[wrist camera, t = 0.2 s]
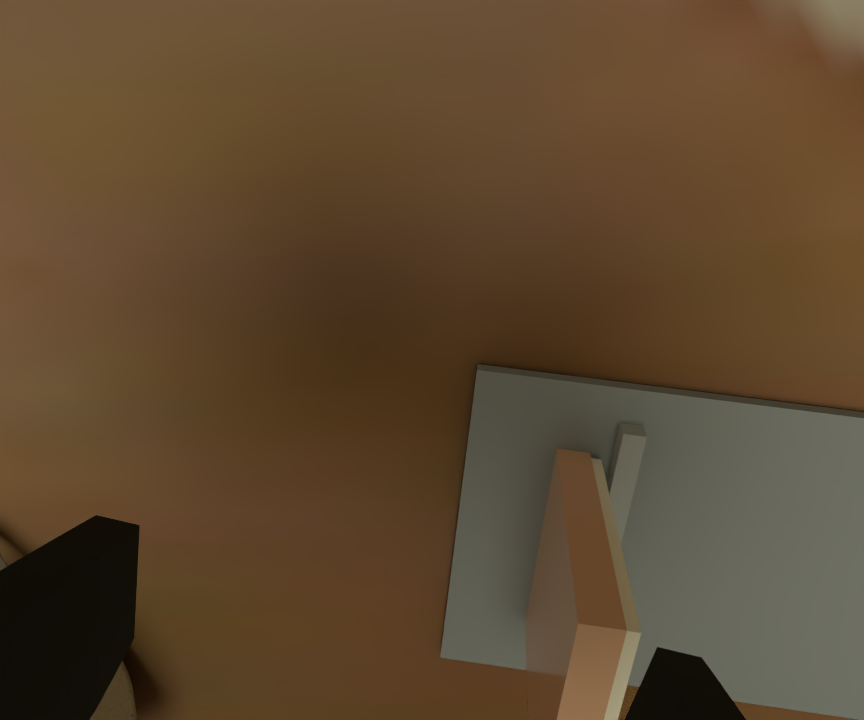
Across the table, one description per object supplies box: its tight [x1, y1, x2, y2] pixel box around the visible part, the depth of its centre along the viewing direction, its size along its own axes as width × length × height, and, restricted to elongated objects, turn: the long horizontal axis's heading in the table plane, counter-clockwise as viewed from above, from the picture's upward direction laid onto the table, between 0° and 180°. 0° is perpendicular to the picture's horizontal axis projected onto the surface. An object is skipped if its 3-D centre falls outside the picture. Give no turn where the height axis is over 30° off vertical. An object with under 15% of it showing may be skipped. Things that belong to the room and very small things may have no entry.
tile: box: [525, 449, 641, 720], centre depth 17 cm, size 6×1×6 cm, turn 175°
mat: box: [440, 364, 864, 720], centre depth 20 cm, size 10×14×1 cm
